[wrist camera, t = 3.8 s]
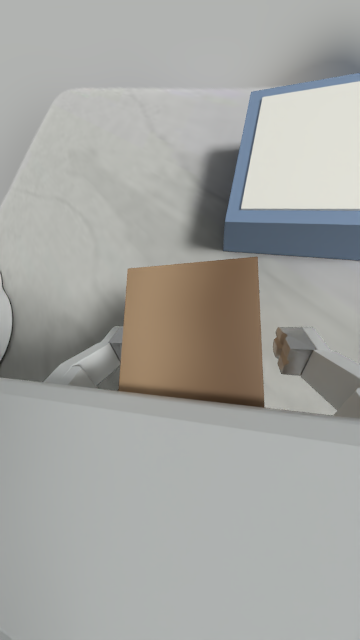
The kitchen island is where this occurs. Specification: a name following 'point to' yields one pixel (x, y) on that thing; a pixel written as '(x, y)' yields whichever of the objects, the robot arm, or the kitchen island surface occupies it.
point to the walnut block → (194, 332)
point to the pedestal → (299, 172)
